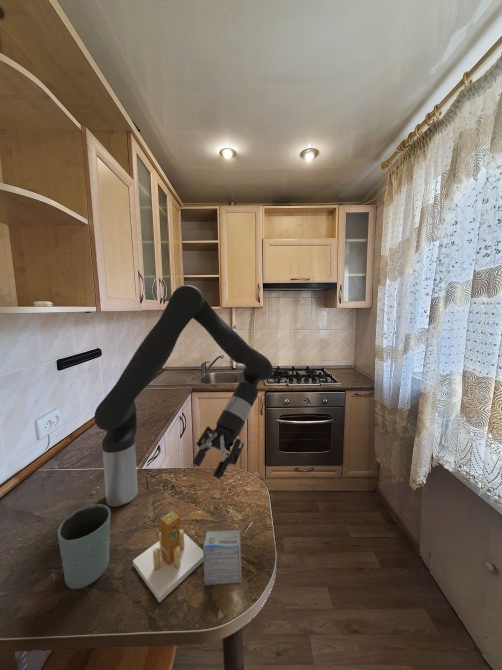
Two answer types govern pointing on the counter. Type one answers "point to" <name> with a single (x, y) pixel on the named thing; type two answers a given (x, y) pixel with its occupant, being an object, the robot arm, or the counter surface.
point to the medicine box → (222, 557)
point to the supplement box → (169, 536)
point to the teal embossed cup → (85, 545)
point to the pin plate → (168, 576)
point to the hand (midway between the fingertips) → (205, 471)
